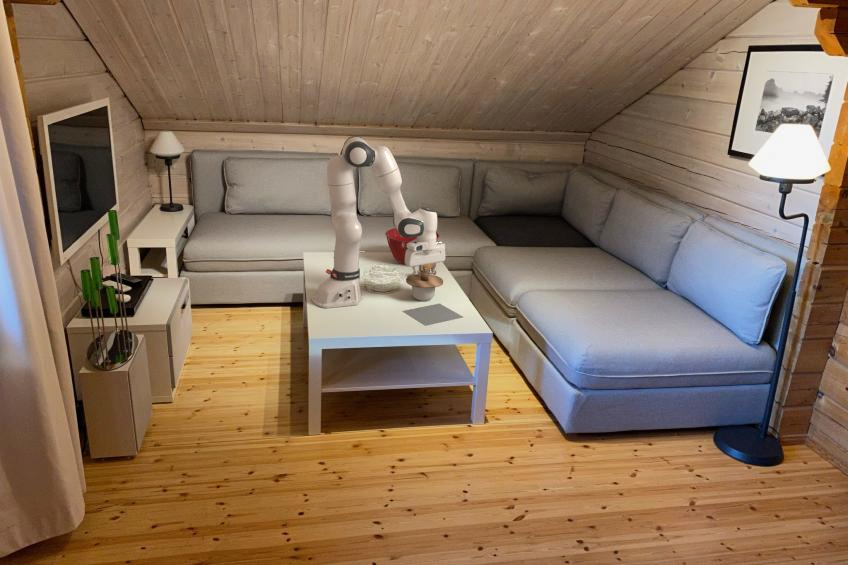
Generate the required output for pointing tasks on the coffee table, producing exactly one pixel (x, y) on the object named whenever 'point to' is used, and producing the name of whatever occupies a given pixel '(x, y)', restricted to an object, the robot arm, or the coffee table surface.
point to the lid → (424, 280)
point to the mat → (432, 314)
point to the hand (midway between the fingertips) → (424, 272)
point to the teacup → (423, 293)
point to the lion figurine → (426, 267)
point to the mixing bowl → (399, 244)
